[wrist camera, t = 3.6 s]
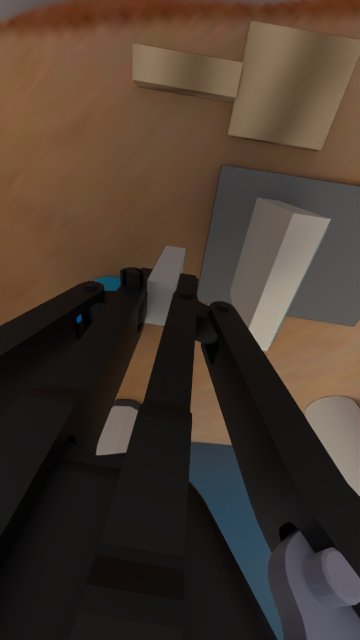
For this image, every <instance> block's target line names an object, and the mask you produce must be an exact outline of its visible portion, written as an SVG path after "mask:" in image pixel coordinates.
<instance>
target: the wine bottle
mask: <svg viewBox="0 0 360 640" xmlns="http://www.w3.org/2000/svg"><path fill="white" fill-rule="evenodd" d="M140 405H141V404H139V403H137V402H135V401H134V400H125V399H117V400H116V401H115V402H114V403H113V406H112V408H111V411H110V413H109V416H108V418H107V421H106V423H105V426H104V429H103V431H102V434H101V436H100V439H99V442H98V445H97V451H96V455H107V454H116V453H125V452H126V450H127V447H128V444H129V440H130V437H131V433H132V430H133V426H134V423H135V419H136V416H137V413H138V410H139V407H140Z"/></svg>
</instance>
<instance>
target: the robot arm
mask: <svg viewBox="0 0 360 640" xmlns="http://www.w3.org/2000/svg"><path fill="white" fill-rule="evenodd" d="M185 250H186V248H180V247H174V246H167V245H166V247H165V249H164V251H163V252H162V254H161V256H160V258H159V260H158V262H157V263H156V265H155V267H154V269H148V268H141V269H139V268H132V267H130V268H124V269H122V270H120V281H121V285H120V286H119V288H118V289H117V290H114V291H105V290H104V285H103V284H101V283H99V282H95V281H92V282H91V281H88V282H84V283H81V284H79V285H77V286H75V287H73V288H71V289H69V290H67V291H65V292H64V293H62V294H60V295H58V296H56V297H54V298H52V299H50V300H48V301H47V302H45V303H43V304H41V305H39V306H37V307H35V308H33V309H32V310H30V311H28V312H26V313H24V314H22V315H20V316H18V317H16V318H15V319H13V320H11V321H9V322H7V323H5V324H3V325H1V326H0V640H277V638H276V636H275V634H274V632H273V630H272V628H271V626H270V625H269V623H268V621H267V619H266V617H265V615H264V613H263V611H262V609H261V607H260V605H259V603H258V602H257V600H256V598H255V596H254V594H253V592H252V590H251V588H250V586H249V584H248V583H247V581H246V579H245V577H244V575H243V573H242V571H241V569H240V567H239V565H238V563H237V561H236V559H235V558H234V556H233V554H232V552H231V550H230V548H229V546H228V544H227V542H226V540H225V539H224V536H223V535H222V533H221V531H220V529H219V527H218V525H217V523H216V521H215V519H214V517H213V515H212V514H211V512H210V510H209V508H208V506H207V504H206V502H205V501H204V499H203V497H202V496H201V495H200V493H199V492H198V490H197V489H196V488H195V487H194V486H193V484H192V483H191V482H190V481H189V465H190V446H191V430H192V413H190V405H191V390H192V375H193V361H194V346H195V340H197V341H199V342H201V348H202V352H203V355H204V358H205V361H206V364H207V367H208V370H209V374H210V377H211V380H212V383H213V386H214V389H215V393H216V396H217V399H218V402H219V405H220V408H221V411H222V415H223V418H224V421H225V424H226V427H227V430H228V433H229V437H230V440H231V443H232V446H233V449H234V452H235V455H236V459H237V461H238V465H239V468H240V471H241V474H242V477H243V481H244V484H245V487H246V490H247V493H248V496H249V499H250V502H251V505H252V508H253V510H254V513H255V516H256V519H257V521H258V524H259V526H260V529H261V531H262V533H263V535H264V537H265V539H266V542H267V544H268V546H269V548H270V550H271V552H272V554H271V556H270V559H269V563H268V579H269V585H270V590H271V593H272V595H273V599H274V601H275V604H276V607H277V610H278V613H279V616H280V619H281V624H282V630H283V635H284V640H360V496H359V495H358V494H357V493H356V492H355V491H354V490H353V488H352V487H351V486H350V485H349V484H348V483H347V482H346V480H345V478H344V477H343V475H342V474H341V472H340V471H339V469H338V467H337V466H336V464H335V463H334V461H333V460H332V458H331V457H330V455H329V453H328V452H327V450H326V449H325V447H324V446H323V444H322V443H321V441H320V439H319V438H318V436H317V435H316V433H315V432H314V430H313V429H312V427H311V425H310V424H309V422H308V421H307V419H306V418H305V416H304V414H303V413H302V411H301V410H300V408H299V407H298V405H297V404H296V402H295V400H294V399H293V397H292V396H291V394H290V393H289V391H288V390H287V388H286V386H285V385H284V383H283V382H282V380H281V379H280V377H279V376H278V374H277V372H276V371H275V369H274V368H273V366H272V365H271V363H270V361H269V360H268V358H267V357H266V355H265V354H264V352H263V351H262V349H261V347H260V346H259V344H258V343H257V341H256V340H255V338H254V337H253V335H252V333H251V332H250V330H249V329H248V327H247V326H246V324H245V323H244V321H243V319H242V318H241V316H240V315H239V313H238V312H237V310H236V308H235V307H234V306H233V305H231V304H229V303H227V302H224V301H215V302H212V303H211V304H210V306H208V305H205V304H203V303H201V302H200V301H199V300H198V296H197V286H198V279H197V277H196V276H195V275H189V274H182V271H183V264H184V257H185ZM79 315H81V320H82V321H80V322H79V323H77V319H76V318H77V317H78V316H79ZM145 317H146V320H145V323H147V324H154V325H160V326H164V329H163V333H162V336H161V340H160V344H159V347H158V351H157V355H156V358H155V362H154V365H153V369H152V373H151V376H150V380H149V384H148V387H147V391H146V394H145V398H144V401H143V404H142V405H140V407H139V410H138V413H137V416H136V419H135V423H134V426H133V430H132V433H131V437H130V440H129V444H128V447H127V450H126V452H125V453H116V454H107V455H96V451H97V445H98V442H99V439H100V436H101V434H102V431H103V429H104V426H105V423H106V421H107V418H108V416H109V413H110V411H111V408H112V406H113V403H114V401H115V398H116V396H117V393H118V391H119V388H120V386H121V383H122V381H123V378H124V376H125V373H126V371H127V368H128V366H129V363H130V361H131V358H132V356H133V353H134V351H135V348H136V345H137V343H138V340H139V338H140V335H141V333H142V330H143V326H144V319H145Z"/></svg>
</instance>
